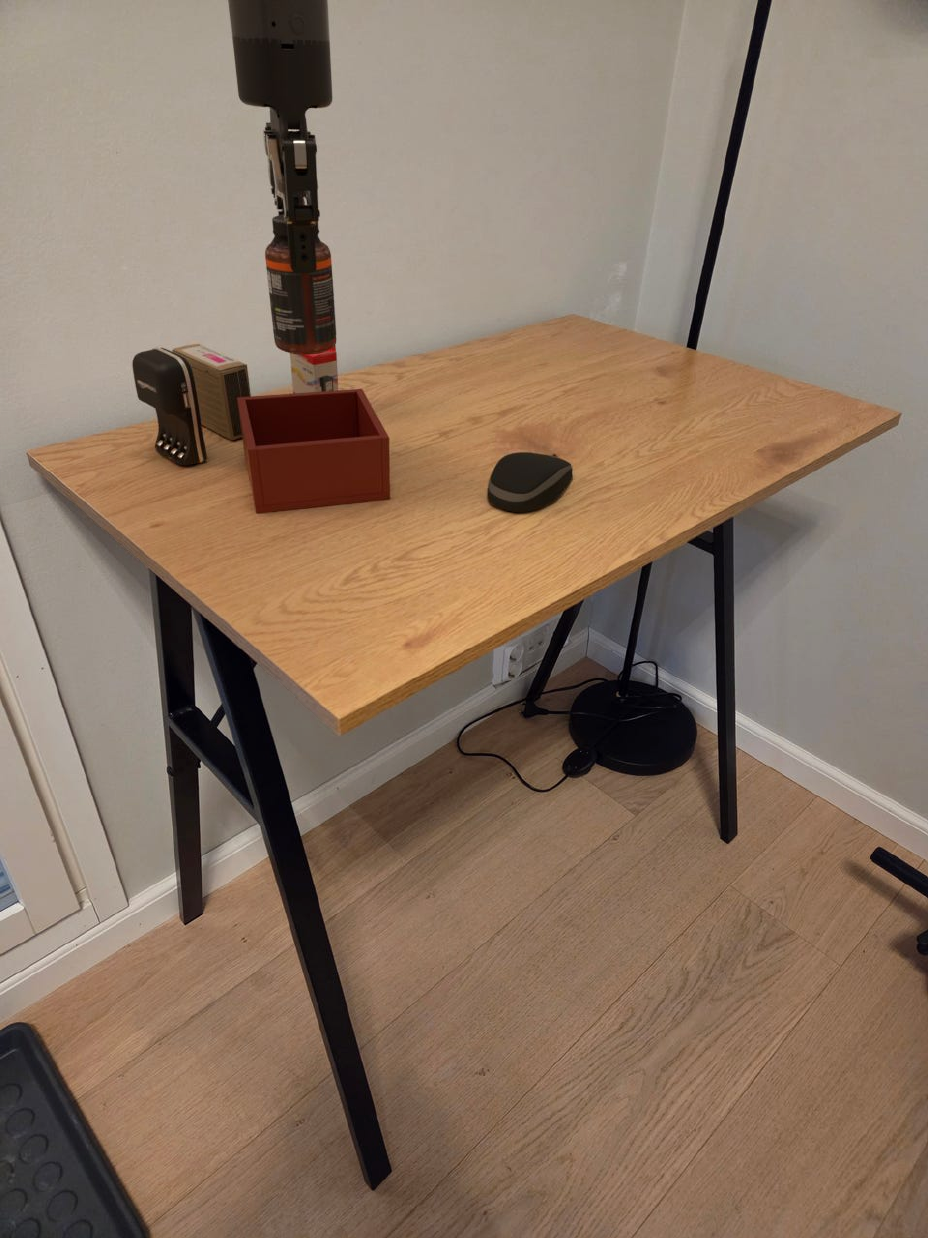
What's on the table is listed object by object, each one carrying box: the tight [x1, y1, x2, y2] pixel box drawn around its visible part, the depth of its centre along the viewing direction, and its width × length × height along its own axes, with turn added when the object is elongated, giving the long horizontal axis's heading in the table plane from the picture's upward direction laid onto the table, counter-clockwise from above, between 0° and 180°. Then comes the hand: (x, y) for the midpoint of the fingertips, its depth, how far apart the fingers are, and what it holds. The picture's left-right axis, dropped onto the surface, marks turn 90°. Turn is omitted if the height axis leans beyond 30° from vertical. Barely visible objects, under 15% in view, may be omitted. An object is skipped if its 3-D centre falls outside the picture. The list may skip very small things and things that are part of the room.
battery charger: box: [131, 347, 208, 467], centre depth 84 cm, size 7×4×11 cm, turn 47°
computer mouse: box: [486, 451, 573, 513], centre depth 84 cm, size 7×12×4 cm, turn 146°
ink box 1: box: [171, 343, 252, 441], centre depth 92 cm, size 10×4×8 cm, turn 46°
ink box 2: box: [289, 343, 339, 394], centre depth 97 cm, size 6×3×10 cm, turn 40°
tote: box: [237, 388, 391, 514], centre depth 83 cm, size 14×14×7 cm
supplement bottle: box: [264, 214, 337, 354], centre depth 73 cm, size 6×6×11 cm
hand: (298, 262), depth 72 cm, fingers closed on supplement bottle, 6 cm apart
